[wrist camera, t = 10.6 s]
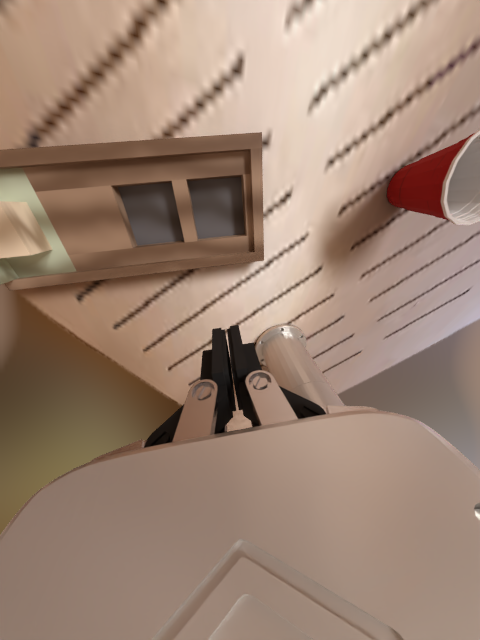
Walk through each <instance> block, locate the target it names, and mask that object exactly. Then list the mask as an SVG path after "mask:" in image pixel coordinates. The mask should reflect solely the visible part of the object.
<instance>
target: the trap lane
mask: <svg viewBox="0 0 480 640" xmlns="http://www.w3.org/2000/svg"><path fill="white" fill-rule="evenodd" d="M0 201H9V202H27V204H28V206H29V208H30V209H31V211H32V213H33V215H34V217H35V218H36V220H37V222H38V224H39V226H40V227H41V229H42V231H43V233H44V235H45V236H46V238H47V240H48V242H49V244H50V245H51V247H52V250H49V251H45V252H41V253H37V254H34V255H28V256H18V257H8V258H0V285H1V284H5V285H6V286H7V288H8V289H9V290H19V289H27V288H36V287H44V286H53V285H61V284H69V283H78V282H86V281H95V280H103V279H111V278H120V277H128V276H137V275H145V274H154V273H162V272H170V271H179V270H187V269H196V268H204V267H213V266H221V265H229V264H238V263H246V262H255V261H263V260H264V240H263V181H262V132H261V133H246V134H231V135H216V136H201V137H186V138H171V139H157V140H142V141H127V142H112V143H97V144H82V145H67V146H52V147H37V148H22V149H7V150H0Z"/></svg>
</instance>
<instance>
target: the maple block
mask: <svg viewBox="0 0 480 640" xmlns="http://www.w3.org/2000/svg"><path fill="white" fill-rule="evenodd" d="M49 250H52V247H51V245H50V244H49V242H48V240H47V238H46V236H45V235H44V233H43V231H42V229H41V227H40V226H39V224H38V222H37V220H36V218H35V217H34V215H33V213H32V211H31V209H30V208H29V206H28V204H27V202H9V201H0V258H8V257H18V256H28V255H34V254H37V253H41V252H45V251H49Z"/></svg>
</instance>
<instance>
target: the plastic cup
mask: <svg viewBox="0 0 480 640" xmlns="http://www.w3.org/2000/svg"><path fill="white" fill-rule="evenodd" d="M387 198H388V201H389V203H391V204H392V205H394V206H395V207H400V208H404V209H406V210H410V211H414V212H419V213H423V214H428V215H433V216H436V217H439V218H443V219H447V220H449V221H451V222H452V223H453V224H456V225H471V224H474V223H476V222H479V221H480V129H479V130H478V131H477V132H476V133H474V134H472V135H470V136H469V137H468V138H465V139H463V140H461V141H459V142H458V143H456V144H454V145H452V146H450V147H447V148H445V149H443V150H440V151H438V152H436V153H434V154H431V155H429V156H427V157H424V158H422V159H420V160H419V161H417V162H414V163H412V164H409V165H407V166H405V167H404V168H401V169H400V170H399V171H398V172H397V173H396V174H395V175H394V176H393V178H392V179H391V181H390V183H389V186H388V189H387Z"/></svg>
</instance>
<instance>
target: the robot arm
mask: <svg viewBox="0 0 480 640" xmlns="http://www.w3.org/2000/svg"><path fill="white" fill-rule="evenodd" d="M227 332H228V341H229V350H230V357H229V351H228V345H227V340H226V334H225V330H221V328H217V329H213V330H212V350H206V351H203V355H202V367H201V378H200V381H198V382H196V383H195V384H193V385H192V387H191V388H190V390H189V392H188V395H187V398H186V401H185V404H184V405H183V406H182V407H181V408H180V409H178V410H177V411H176V412H175V413H174V414H173V415H172V416H171V417H170V418H169V419H168V420H166V421H165V422H164V423H163V424H162V425H161V426H160V427H159V428H158V429H156V430H155V431H154V432H153V433H152V434H151V435H150V437H149V438H148V439H147V440H145V441H143V440H142V439H141V440H139V441H136V442H134V443H131V444H129V445H126V446H124V447H121V448H119V449H116V450H114V451H111V452H109V453H106V454H104V455H101V456H99V457H97V458H95V459H93V460H92V461H91V462H88V463H86V464H84V465H81V466H79V467H77V468H74V469H73V470H71V471H69V472H67V473H65V474H63V475H61V476H59V477H58V478H56V479H54V480H53V481H51V482H50V483H48V484H47V485H45V486H44V487H43V488H41V489H40V490H39V491H38V492H36V493H35V494H34V495H33V496H32V497H31V498H30V499H29V500H28V501H27V502H26V503H25V504H24V505H23V507H22V508H21V509H20V510H19V511H18V512H17V514H16V515H15V516H14V517H13V519H12V520H11V521H10V523H9V524H8V525H7V527H6V528H5V529H4V531H3V532H2V533H1V535H0V640H480V470H479V469H478V468H477V467H476V466H475V465H474V464H473V463H471V462H470V461H469V460H468V459H467V458H466V457H465V456H464V455H463V454H462V453H461V452H459V451H458V450H457V449H456V448H455V447H454V446H453V445H451V444H450V443H449V442H448V441H447V440H445V439H444V438H443V437H442V436H441V435H439V434H438V433H437V432H435V431H434V430H433V429H431V428H430V427H428V426H427V425H425V424H423V423H422V422H420V421H418V420H416V419H413V418H411V417H408V416H404V415H401V414H397V413H391V412H385V411H380V410H377V409H375V408H372V407H360V406H359V407H358V406H345V405H344V403H343V402H342V401H341V399H340V398H339V397H338V395H337V394H336V392H335V391H334V389H333V388H332V386H331V385H330V383H329V382H328V380H327V379H326V378H325V376H324V375H323V373H322V372H321V370H320V369H319V367H318V366H317V364H316V363H315V361H314V360H313V359H312V357H311V356H310V354H309V353H308V351H307V350H306V337H305V335H304V333H303V332H302V331H301V330H300V329H299V328H298V327H295V326H293V325H287V324H283V325H277V326H274V327H272V328H270V329H268V330H266V331H265V332H264V333H263V334H262V335H261V336H260V337H259V338H258V340H257V342H256V345H255V346H254V343H248V344H242V340H241V335H240V331H239V326H238V325H236V326H230V329H227ZM230 359H231V362H230ZM260 362H261V363H262V364H263V365H265V366H267V368H268V371H269V372H267V371H264V370H262V369H261V366H260ZM231 368H232V370H231ZM232 374H233V379H232ZM233 380H234V385H235V391H236V396H237V402H238V407H239V410H242V409H243V415H244V416H245V417H246V418H248V419H249V420H251V424H252V428H246V429H241V430H235V431H230V432H227V423H228V422H229V421H230V419H231V418H233V412H232V411H236V406H235V397H234V388H233Z"/></svg>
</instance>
